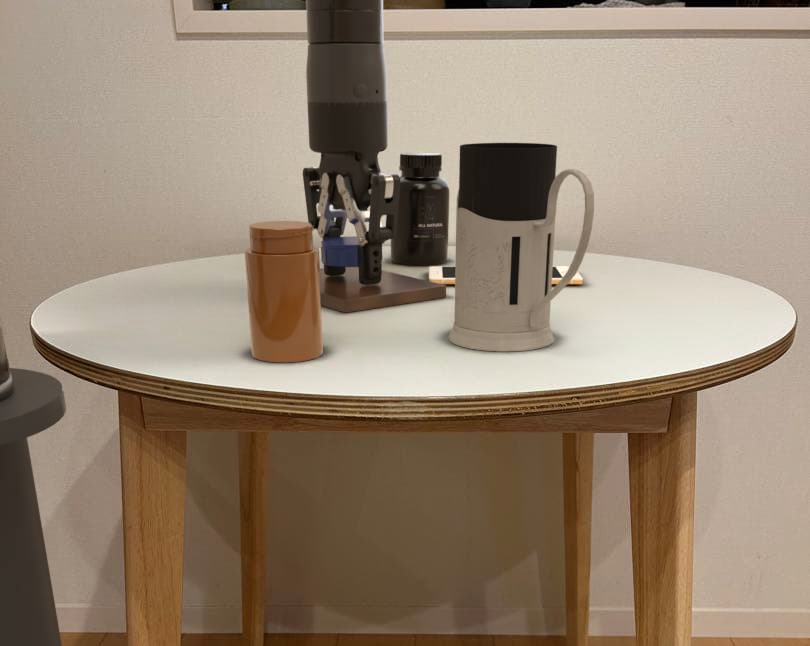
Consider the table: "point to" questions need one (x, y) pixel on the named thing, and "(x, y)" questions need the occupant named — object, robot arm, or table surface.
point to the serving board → (374, 291)
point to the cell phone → (448, 275)
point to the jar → (284, 292)
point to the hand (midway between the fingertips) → (352, 278)
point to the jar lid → (340, 252)
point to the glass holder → (509, 245)
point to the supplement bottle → (421, 211)
